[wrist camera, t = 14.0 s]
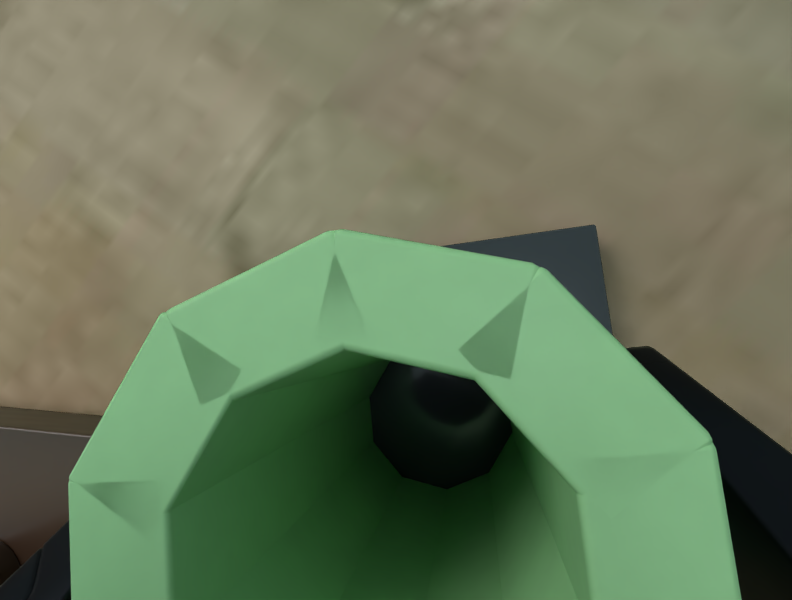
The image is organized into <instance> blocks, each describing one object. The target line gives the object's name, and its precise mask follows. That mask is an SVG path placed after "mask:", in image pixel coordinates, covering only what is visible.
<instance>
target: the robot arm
mask: <svg viewBox="0 0 792 600" xmlns="http://www.w3.org/2000/svg"><path fill="white" fill-rule="evenodd" d="M627 350H628V351H629V352H630V353H631V354H632V355H633V356H634V357H635V358H636V360H637V361H638V362H639V363H640V364H641V365H642V366H643V367H644V368H645V369H646V370H647V371H648V372H649V373H650V374H651V375H652V376H653V377H654V378H655V379H656V380H657V381H658V382H659V383H660V384H661V385H662V386H663V387H664V388H665V389H666V390H667V391H668V392H669V393H670V394H671V395H672V396H673V397H674V398H675V399H676V400H677V401H678V402H679V403H680V404H681V405H682V406H683V407H684V408H685V409H686V410H687V411H688V412H689V413H690V414H691V415H692V416H693V417H694V418H695V419H696V420H697V421H698V422H699V423H700V424H701V425H702V426H703V427H704V428H705V429H706V430H707V431H708V432H709V434H710V436H711V438H712V440H713V441H712V442H713V444H714V446H715V447H716V450H717V456H718V462H719V468H720V474H721V480H722V486H723V492H724V498H725V503H726V509H727V515H728V521H729V527H730V533H731V539H732V545H733V551H734V557H735V563H736V569H737V575H738V581H739V587H740V593H741V599H742V600H792V454H791V453H790V452H788V451H787V450H786V449H784V448H783V447H782V446H781V445H779V444H778V443H777V442H775V441H774V440H773V439H771V438H770V437H769V436H767V435H766V434H765V433H764V432H762V431H761V430H760V429H758V428H757V427H756V426H754V425H753V424H752V423H750V422H749V421H748V420H747V419H745V418H744V417H743V416H741V415H740V414H739V413H737V412H736V411H735V410H733V409H732V408H731V407H730V406H728V405H727V404H726V403H724V402H723V401H722V400H720V399H719V398H718V397H716V396H715V395H714V394H713V393H711V392H710V391H709V390H707V389H706V388H705V387H703V386H702V385H701V384H699V383H698V382H697V381H696V380H694V379H693V378H692V377H690V376H689V375H688V374H686V373H685V372H684V371H682V370H681V369H680V368H679V367H677V366H676V365H675V364H673V363H672V362H671V361H669V360H668V359H667V358H666V357H664V356H663V355H662V354H660V353H659V352H658V351H656V350H655V349H654V348H652V347H649V346H642V347H631V348H627ZM0 600H71V571H70V533H69V520H68V521H67V522H66V523H65V524H64V525H63V526H62V527H61V528H60V529H59V530H58V531H57V532H56V533H55V534H54V535H53V536H52V537H51V538H50V539H49V540H48V541H47V542H46V543H45V544H44V545H43V548H40V549H38V550H37V551H36V552H35V553H34V554H33V555H32V556H31V557H30V558H29V559H28V560H27V561H26V562H25V563H24V564H23V565H22V566H21V567H20V568H19V569H17V570H16V571H15V572H14V573H13V574H12V575H11V576H10V577H9V578H8V579H7V580H6V581H5V582H4V583H3V584H2V585H0Z"/></svg>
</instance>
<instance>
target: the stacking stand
mask: <svg viewBox="0 0 792 600" xmlns="http://www.w3.org/2000/svg"><path fill="white" fill-rule="evenodd" d="M102 417H103V416H96V415H85V414H74V413H64V412H53V411H42V410H31V409H20V408H10V407H0V585H2V584H3V583H4V582H5V581H6V580H7V579H8V578H9V577H10V576H11V575H12V574H13V573H14V572H15V571H16V570H17V569H19V568H20V567H21V566H22V565H23V564H24V563H25V562H26V561H27V560H28V559H29V558H30V557H31V556H32V555H33V554H34V553H35V552H36V551H37V550H38V549H40V548H43V545H44V544H45V543H46V542H47V541H48V540H49V539H50V538H51V537H52V536H53V535H54V534H55V533H56V532H57V531H58V530H59V529H60V528H61V527H62V526H63V525H64V524H65V523H66V522H67V521H68V520H69V496H68V483H69V476H70V474H71V472H72V470H73V469H74V467H75V465H76V463H77V461H78V460H79V458H80V456H81V454H82V452H83V451H84V449H85V447H86V445H87V444H88V442H89V440H90V438H91V436H92V435H93V433H94V431H95V429H96V427H97V426H98V424H99V422H100V420H101V419H102Z"/></svg>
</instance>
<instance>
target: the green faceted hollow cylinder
mask: <svg viewBox="0 0 792 600" xmlns="http://www.w3.org/2000/svg"><path fill="white" fill-rule="evenodd" d="M390 361H393V362H397V363H401V364H406V365H410V366H414V367H419V368H423V369H428V370H432V371H436V372H441V373H445V374H449V375H454V376H458V377H462V378H467V379H471V380H475V381H476V382H477V383H478V385H479V386H480V387H481V388H482V389H483V390H484V391H485V392H486V393H487V395H488V396H489V397H490V398H491V399H492V400H493V401H494V402H495V403H496V405H497V406H498V407H499V408H500V409H501V410H502V411H503V412H504V413H505V415H506V416H507V417H508V418H509V419H510V420H511V427H512V434H511V435H510V437H509V439H508V441H507V442H506V444H505V446H504V448H503V449H502V451H501V453H500V455H499V456H498V458H497V460H496V461H495V463H494V465H493V467H492V468H491V470H490V472H489V473H487V474H485V475H482V476H479V477H477V478H474V479H472V480H469V481H467V482H464V483H462V484H459V485H457V486H454V487H452V488H449V489H444V488H440V487H437V486H433V485H429V484H426V483H422V482H419V481H415V480H411V479H408V478H404V477H402V476H401V475H400V474H399V472H398V471H397V470H396V469H395V468H394V466H393V465H392V464H391V463H390V462H389V460H388V459H387V458H386V457H385V455H384V454H383V453H382V452H381V451H380V449H379V448H378V447H377V446H376V444H375V443H374V442H373V431H372V420H371V410H370V399H369V397H370V395H371V394H372V392H373V390H374V388H375V387H376V385H377V383H378V381H379V380H380V378H381V376H382V374H383V373H384V371H385V369H386V367H387V365H388V364H389V362H390ZM712 441H713V440H712V438H711V436H710V434H709V432H708V431H707V430H706V429H705V428H704V427H703V426H702V425H701V424H700V423H699V422H698V421H697V420H696V419H695V418H694V417H693V416H692V415H691V414H690V413H689V412H688V411H687V410H686V409H685V408H684V407H683V406H682V405H681V404H680V403H679V402H678V401H677V400H676V399H675V398H674V397H673V396H672V395H671V394H670V393H669V392H668V391H667V390H666V389H665V388H664V387H663V386H662V385H661V384H660V383H659V382H658V381H657V380H656V379H655V378H654V377H653V376H652V375H651V374H650V373H649V372H648V371H647V370H646V369H645V368H644V367H643V366H642V365H641V364H640V363H639V362H638V361H637V360H636V358H635V357H634V356H633V355H632V354H631V353H630V352H629V351H628V350H627V349H626V348H625V347H624V346H623V345H622V344H621V343H620V342H619V341H618V340H617V339H616V338H615V337H614V336H613V335H612V334H611V333H610V332H609V331H608V330H607V329H606V328H605V327H604V326H603V325H602V324H601V323H600V322H599V321H598V320H597V319H596V318H595V317H594V316H593V315H592V314H591V313H590V312H589V311H588V310H587V309H586V308H585V307H584V306H583V305H582V304H581V303H580V302H579V301H578V300H577V299H576V298H575V297H574V296H573V295H572V294H571V293H570V292H569V291H568V290H567V289H566V288H565V287H564V286H563V285H562V284H561V283H560V282H559V281H558V280H557V279H556V278H555V277H554V276H553V275H552V274H551V273H550V272H549V271H548V270H547V269H545V268H542V267H539V266H537V265H535V264H534V263H531V262H525V261H520V260H514V259H508V258H503V257H497V256H492V255H486V254H480V253H475V252H469V251H463V250H458V249H452V248H446V247H441V246H435V245H429V244H424V243H418V242H413V241H407V240H401V239H396V238H390V237H384V236H379V235H373V234H367V233H362V232H356V231H350V230H345V229H340V230H335V231H327V232H325V233H323V234H321V235H319V236H317V237H315V238H313V239H310V240H308V241H306V242H304V243H302V244H300V245H298V246H296V247H294V248H292V249H290V250H288V251H286V252H284V253H282V254H280V255H278V256H276V257H274V258H272V259H270V260H268V261H266V262H264V263H262V264H260V265H258V266H256V267H254V268H252V269H250V270H248V271H246V272H244V273H242V274H239V275H237V276H235V277H233V278H231V279H229V280H227V281H225V282H223V283H221V284H219V285H217V286H215V287H213V288H211V289H209V290H207V291H205V292H203V293H201V294H199V295H197V296H195V297H193V298H191V299H189V300H187V301H185V302H183V303H181V304H179V305H177V306H175V307H173V308H171V309H169V310H168V311H167V312H163V313H161V314H160V315H159V317H158V319H157V320H156V322H155V324H154V326H153V328H152V329H151V331H150V333H149V335H148V337H147V338H146V340H145V342H144V344H143V345H142V347H141V349H140V351H139V353H138V354H137V356H136V358H135V360H134V361H133V363H132V365H131V367H130V369H129V370H128V372H127V374H126V376H125V378H124V379H123V381H122V383H121V385H120V386H119V388H118V390H117V392H116V394H115V395H114V397H113V399H112V401H111V403H110V404H109V406H108V408H107V410H106V411H105V413H104V415H103V417H102V419H101V420H100V422H99V424H98V426H97V427H96V429H95V431H94V433H93V435H92V436H91V438H90V440H89V442H88V444H87V445H86V447H85V449H84V451H83V452H82V454H81V456H80V458H79V460H78V461H77V463H76V465H75V467H74V469H73V470H72V472H71V474H70V476H69V483H68V496H69V533H70V571H71V600H742V599H741V593H740V587H739V581H738V575H737V569H736V563H735V557H734V551H733V545H732V539H731V533H730V527H729V521H728V515H727V509H726V503H725V498H724V492H723V486H722V480H721V474H720V468H719V462H718V456H717V450H716V447H715V446H714V444H713V442H712Z"/></svg>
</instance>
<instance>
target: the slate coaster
mask: <svg viewBox="0 0 792 600" xmlns="http://www.w3.org/2000/svg"><path fill="white" fill-rule="evenodd" d="M441 247H446V248H452V249H458V250H463V251H469V252H475V253H480V254H486V255H492V256H497V257H503V258H508V259H514V260H520V261H525V262H531V263H534V264H535V265H537V266H539V267H542V268H545V269H547V270H548V271H549V272H550V273H551V274H552V275H553V276H554V277H555V278H556V279H557V280H558V281H559V282H560V283H561V284H562V285H563V286H564V287H565V288H566V289H567V290H568V291H569V292H570V293H571V294H572V295H573V296H574V297H575V298H576V299H577V300H578V301H579V302H580V303H581V304H582V305H583V306H584V307H585V308H586V309H587V310H588V311H589V312H590V313H591V314H592V315H593V316H594V317H595V318H596V319H597V320H598V321H599V322H600V323H601V324H602V325H603V326H604V327H605V328H606V329H607V330H608V331H609V332H610V333H611V334H612V327H611V321H610V314H609V308H608V301H607V295H606V289H605V282H604V276H603V269H602V263H601V256H600V250H599V243H598V237H597V230H596V226H595V225H587V226H580V227H573V228H566V229H559V230H552V231H545V232H538V233H531V234H524V235H517V236H510V237H503V238H496V239H488V240H481V241H474V242H467V243H460V244H453V245H446V246H441ZM612 335H613V334H612ZM369 399H370V410H371V420H372V431H373V442H374V443H375V444H376V446H377V447H378V448H379V449H380V451H381V452H382V453H383V454H384V455H385V457H386V458H387V459H388V460H389V462H390V463H391V464H392V465H393V466H394V468H395V469H396V470H397V471H398V472H399V474H400V475H401V476H402V477H404V478H408V479H411V480H415V481H419V482H422V483H426V484H429V485H433V486H437V487H440V488H444V489H449V488H452V487H454V486H457V485H459V484H462V483H464V482H467V481H469V480H472V479H474V478H477V477H479V476H482V475H485V474H487V473H489V472H490V470H491V468H492V467H493V465H494V463H495V461H496V460H497V458H498V456H499V455H500V453H501V451H502V449H503V448H504V446H505V444H506V442H507V441H508V439H509V437H510V435H511V434H512V427H511V420H510V419H509V418H508V417H507V416H506V415H505V413H504V412H503V411H502V410H501V409H500V408H499V407H498V406H497V405H496V403H495V402H494V401H493V400H492V399H491V398H490V397H489V396H488V395H487V393H486V392H485V391H484V390H483V389H482V388H481V387H480V386H479V385H478V383H477V382H476V381H475V380H471V379H467V378H462V377H458V376H454V375H449V374H445V373H441V372H436V371H432V370H428V369H423V368H419V367H414V366H410V365H406V364H401V363H397V362H393V361H390V362H389V364H388V365H387V367H386V369H385V371H384V373H383V374H382V376H381V378H380V380H379V381H378V383H377V385H376V387H375V388H374V390H373V392H372V394H371V395H370V397H369Z"/></svg>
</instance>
